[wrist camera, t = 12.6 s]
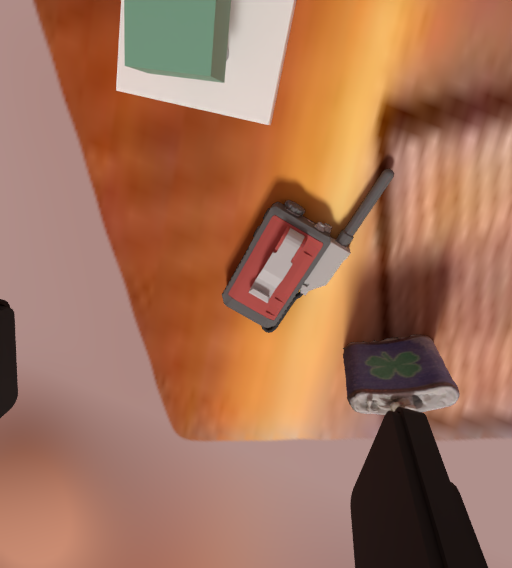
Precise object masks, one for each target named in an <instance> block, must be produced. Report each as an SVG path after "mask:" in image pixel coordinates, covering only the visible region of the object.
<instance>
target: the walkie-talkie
mask: <svg viewBox="0 0 512 568" xmlns="http://www.w3.org/2000/svg"><path fill="white" fill-rule="evenodd" d="M393 176H394V172H393V171H392V170H391V169H385V170H384V171H383V172H382V174H381V175H380V177H379V178H378V180H377V181H376V183H375V184H374V186H373V187H372V189H371V190H370V192H369V193H368V195H367V196H366V198H365V199H364V201H363V202H362V204H361V205H360V207H359V208H358V210H357V211H356V213H355V214H354V216H353V217H352V218H351V220H350V221H349V223H348V224H347V226H346V227H345V229H344V230H342V231H341V232H340V234H339V235H338V237H337V239H336V240H335V239H334V238H332V237H330V233H331V231H330V230H331V229H332V226H330V225H329V224H327V223H325V224H323V223H321V222H318V223H317V224H316V223H314V222H312V221H311V220H309V219H307V218H305V217H304V216H302V215H303V214H304V213H305V209H304V208H302V207H301V206H300V205H298V204H297V203H295V202H293V201H290V200H287V201H286V202H285V205H283V204H281V203H280V202H276V203H274V204H273V205H272V207H271V208H268V210H267V212H266V213H265V215H264V217H263V222H262V224H261V225H260V226H258V228H257V229H256V231H255V233H254V235H253V237H254V239H253V240H252V242H251V244H250V246H249V248H248V249H247V251H246V253H245V255H244V257H243V258H242V260H241V262H240V263H239V265H238V267H237V269H236V271H235V272H234V274H233V276H232V278H231V279H230V281H229V283H228V285H227V286H226V288H225V290H224V292H223V293H222V297H223V301H224V304H225V305H226V306H228V307H229V308H231V309H233V310H235V311H236V312H238V313H240V314H242V315H243V316H245V317H247V318H249V319H250V320H252V321H254V322H256V323H258V324H259V325H261V326H262V329H263V330H264V331H265V332H268V333H269V332H273V331H274V330H275V329H276V328H277V327H278V325H279V324H280V322H281V321H282V319H283V318H284V316H285V315H286V313H287V312H288V310H289V309H290V307H291V306H292V305H293V303H294V302H295V300H296V299H298V298H300V297H301V296H302V295H303V294H304V295H306V294H307V293H308V291H310V290H313V289H316V288H319V287H321V286H324V285H326V284H327V283H328V282H329V281H330V279H331V278H332V276H333V275H334V273H335V272H336V271H337V269H338V268H339V266H340V265H341V263H342V262H343V261H344V260H345V259H347V257H348V256H349V254H350V253H351V252H350V248H349V247H348V245H349V244H350V242H351V241H352V239H353V238H354V237H353V235H354V234H355V232H356V231H357V230H358V228H359V227H360V225H361V224H362V222H363V221H364V219H365V218H366V216H367V215H368V213H369V212H370V210H371V209H372V208H373V206H374V205H375V203H376V202H377V200H378V199H379V197H380V196H381V194H382V193H383V191H384V190H385V188H386V187H387V186H388V184H389V183H390V181H391V180H392V178H393ZM299 289H300V292H299V293H298V291H299ZM296 293H297V294H296Z"/></svg>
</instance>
